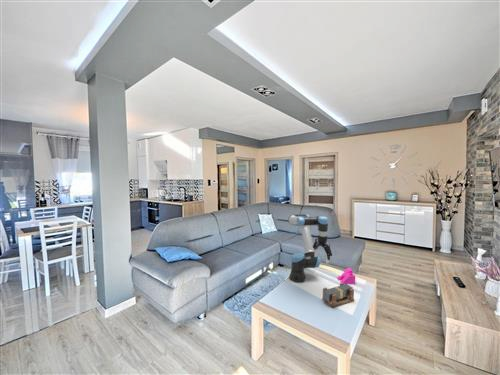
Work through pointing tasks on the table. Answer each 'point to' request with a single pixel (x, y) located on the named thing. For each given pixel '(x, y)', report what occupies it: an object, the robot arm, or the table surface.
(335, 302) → the stove stand
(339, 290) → the grey metal bar
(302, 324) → the table surface
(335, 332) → the table surface
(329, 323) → the table surface
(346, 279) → the bracket
